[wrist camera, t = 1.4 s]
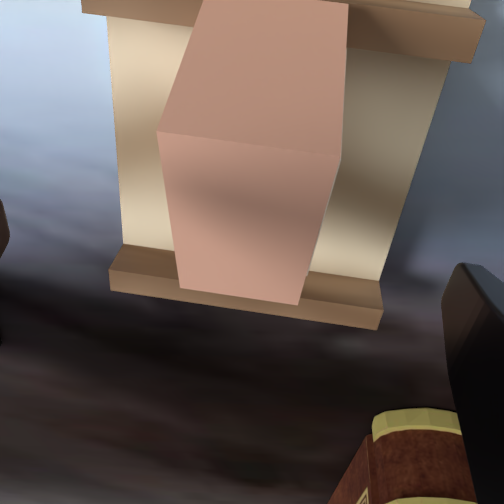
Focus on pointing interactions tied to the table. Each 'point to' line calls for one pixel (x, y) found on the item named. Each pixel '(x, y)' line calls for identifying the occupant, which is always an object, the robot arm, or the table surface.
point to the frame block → (254, 144)
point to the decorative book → (409, 462)
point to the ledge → (352, 156)
